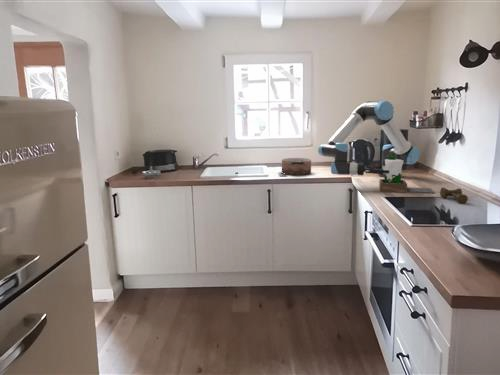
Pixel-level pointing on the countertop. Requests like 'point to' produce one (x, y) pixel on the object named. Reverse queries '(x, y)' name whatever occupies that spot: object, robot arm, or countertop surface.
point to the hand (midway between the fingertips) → (394, 170)
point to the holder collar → (393, 186)
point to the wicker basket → (296, 166)
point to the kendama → (454, 195)
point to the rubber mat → (420, 190)
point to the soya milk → (393, 164)
